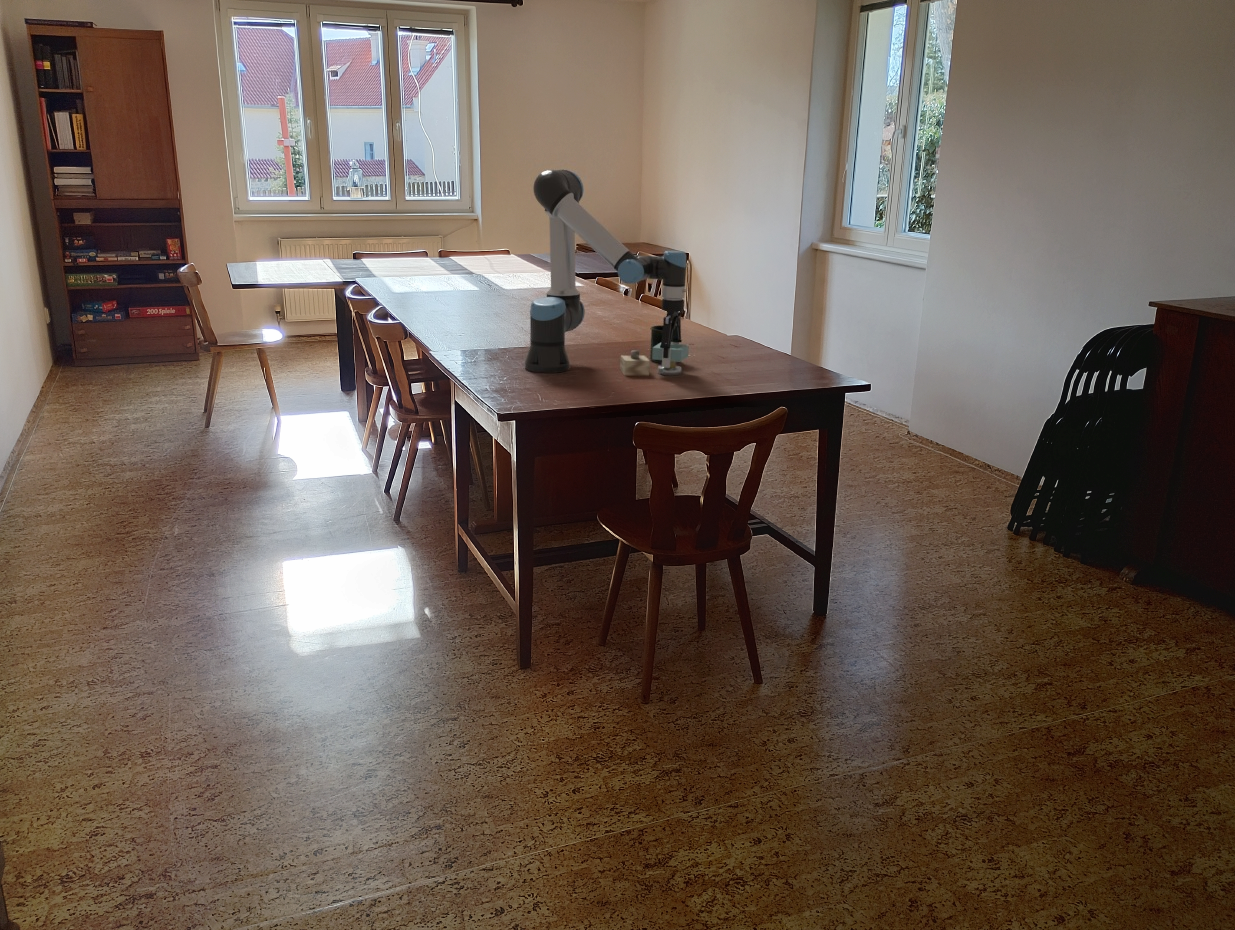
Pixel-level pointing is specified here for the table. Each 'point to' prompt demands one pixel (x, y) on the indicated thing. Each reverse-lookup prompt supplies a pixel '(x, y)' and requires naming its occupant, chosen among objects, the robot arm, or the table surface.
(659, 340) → the mug
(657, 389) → the table surface
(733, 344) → the table surface
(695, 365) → the table surface
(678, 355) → the teal square ring
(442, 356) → the table surface
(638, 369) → the stand
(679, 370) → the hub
